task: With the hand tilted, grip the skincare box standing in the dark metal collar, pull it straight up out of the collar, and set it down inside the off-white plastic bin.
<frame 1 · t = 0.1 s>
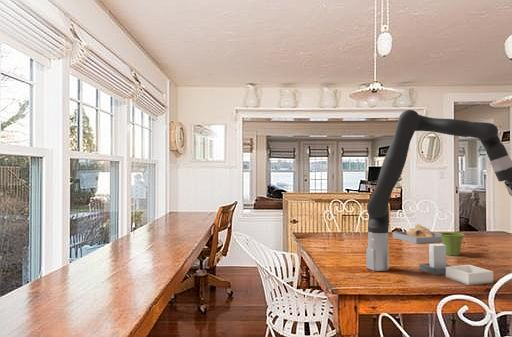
collar: (437, 271, 184), on the table
bin: (469, 279, 169), on the table
skincare box: (437, 271, 184), on the table
plant pot: (451, 255, 219), on the table
sandwich: (420, 240, 266), on the table
tray rim: (419, 239, 266), on the table
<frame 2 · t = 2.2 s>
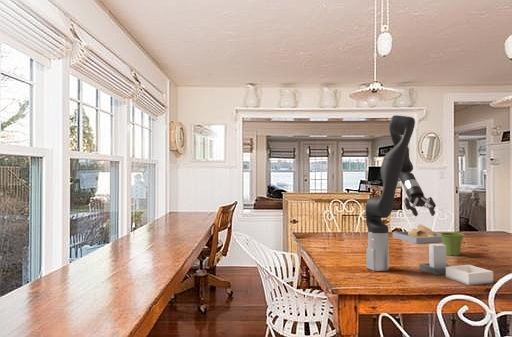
hand: (425, 215, 196), 24 cm above the table, tool tilted 45°, fingers open, 8 cm apart
sandwich: (421, 240, 264), on the table
everything else where it was.
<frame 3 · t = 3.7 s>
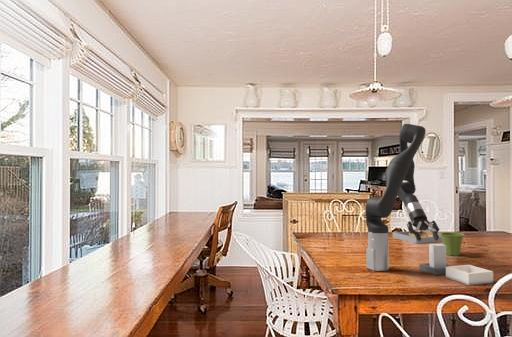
hand: (428, 239, 191), 13 cm above the table, tool tilted 45°, fingers open, 8 cm apart
sandwich: (423, 240, 263), on the table
everything else where it was.
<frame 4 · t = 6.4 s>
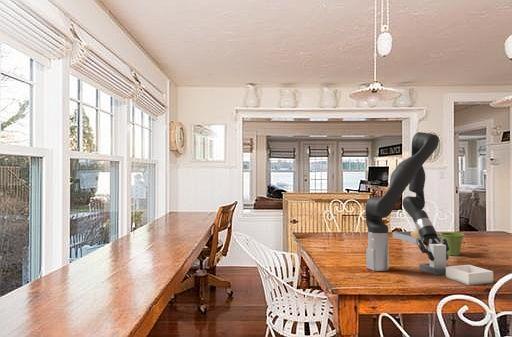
hand: (439, 259, 182), 6 cm above the table, tool tilted 45°, fingers closed on skincare box, 6 cm apart
skincare box: (437, 271, 184), on the table, touching gripper
sandwich: (425, 241, 262), on the table
everything else where it was.
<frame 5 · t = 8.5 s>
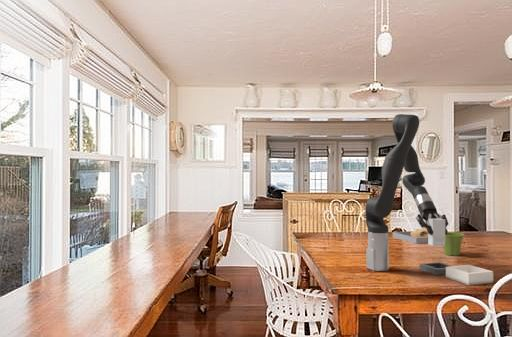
hand: (438, 233, 182), 17 cm above the table, tool tilted 45°, fingers closed on skincare box, 6 cm apart
skincare box: (436, 245, 184), point 11 cm above the table, touching gripper
everything else where it was.
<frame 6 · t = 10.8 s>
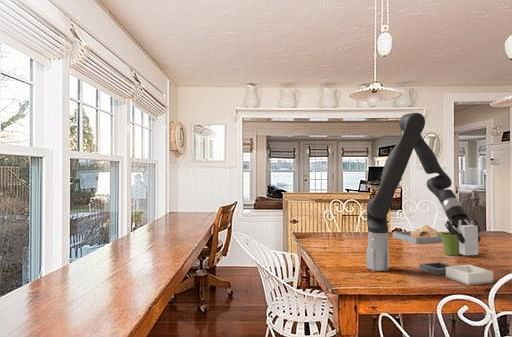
hand: (471, 241, 167), 16 cm above the table, tool tilted 45°, fingers closed on skincare box, 6 cm apart
skincare box: (468, 254, 169), point 10 cm above the table, touching gripper
everything else where it was.
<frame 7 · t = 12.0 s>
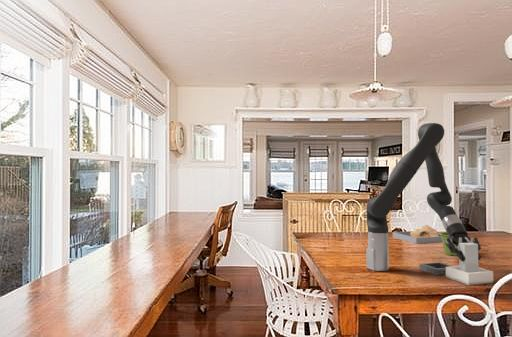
hand: (471, 260, 167), 9 cm above the table, tool tilted 45°, fingers closed on skincare box, 6 cm apart
skincare box: (468, 272, 169), point 3 cm above the table, touching gripper
everything else where it was.
when the fingers open (8 cm above the table, at t = 13.1 s): skincare box drops 2 cm, resting on bin.
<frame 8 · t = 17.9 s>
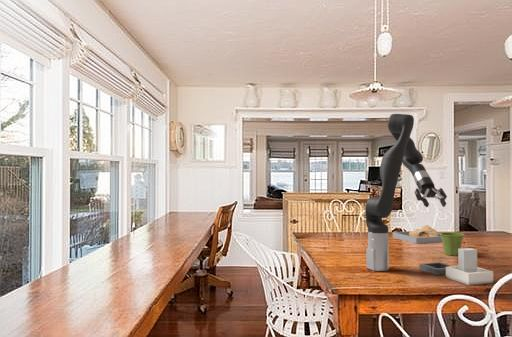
hand: (436, 205, 194), 29 cm above the table, tool tilted 45°, fingers open, 8 cm apart
skincare box: (467, 278, 169), point 1 cm above the table, touching bin
at the end: skincare box inside the target area on the bin (0.4 cm from its centre), point 0.6 cm above the bin's base; the gripper is holding nothing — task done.
